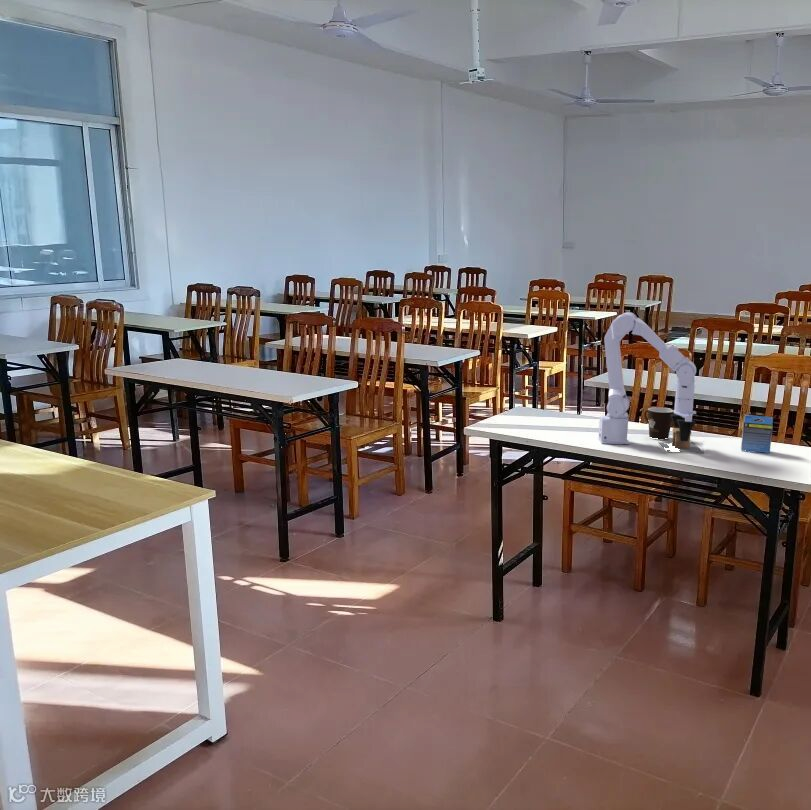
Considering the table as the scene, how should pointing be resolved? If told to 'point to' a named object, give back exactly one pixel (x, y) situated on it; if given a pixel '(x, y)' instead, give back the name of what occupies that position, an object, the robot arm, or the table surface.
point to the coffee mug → (659, 422)
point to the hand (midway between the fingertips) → (681, 438)
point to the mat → (691, 449)
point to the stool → (677, 441)
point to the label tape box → (757, 434)
